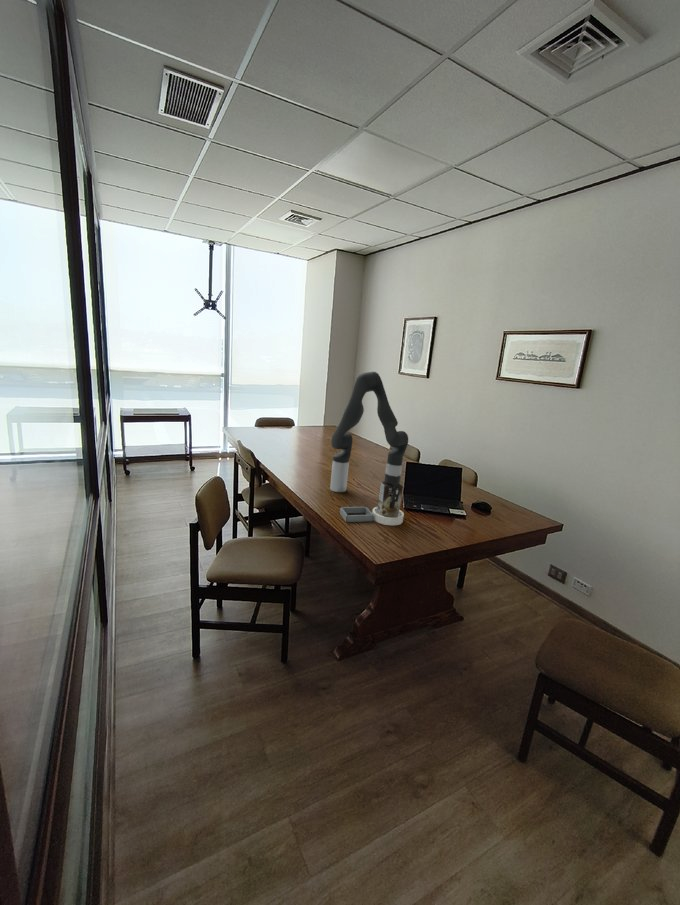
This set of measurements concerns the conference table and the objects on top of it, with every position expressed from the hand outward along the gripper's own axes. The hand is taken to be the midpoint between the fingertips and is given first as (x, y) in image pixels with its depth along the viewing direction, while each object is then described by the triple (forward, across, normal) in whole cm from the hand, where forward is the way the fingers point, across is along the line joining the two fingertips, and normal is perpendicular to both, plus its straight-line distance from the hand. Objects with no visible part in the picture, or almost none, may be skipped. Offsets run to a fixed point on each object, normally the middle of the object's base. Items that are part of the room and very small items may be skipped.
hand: (388, 505), depth 193 cm
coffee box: (+5, 0, 0) cm, 5 cm away
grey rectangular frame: (+7, -3, -15) cm, 17 cm away
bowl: (+7, 0, 0) cm, 7 cm away
